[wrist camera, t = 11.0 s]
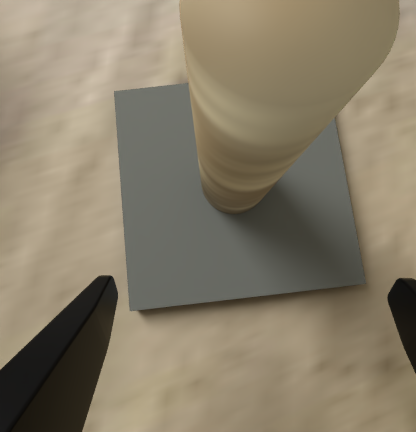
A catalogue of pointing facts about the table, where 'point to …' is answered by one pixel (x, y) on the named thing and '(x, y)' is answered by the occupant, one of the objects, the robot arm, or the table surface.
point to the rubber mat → (224, 215)
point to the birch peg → (273, 82)
